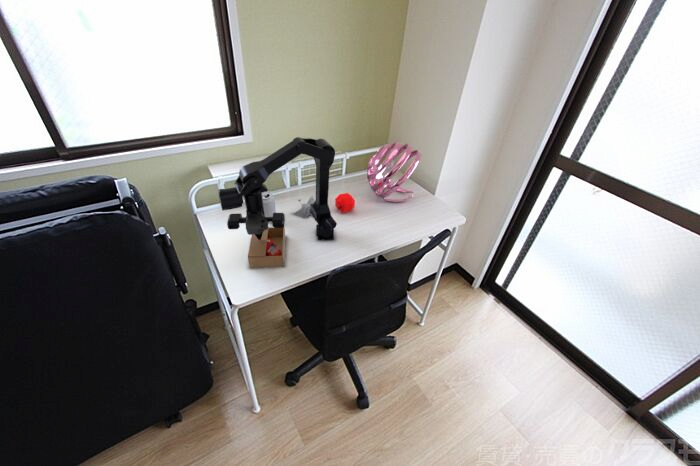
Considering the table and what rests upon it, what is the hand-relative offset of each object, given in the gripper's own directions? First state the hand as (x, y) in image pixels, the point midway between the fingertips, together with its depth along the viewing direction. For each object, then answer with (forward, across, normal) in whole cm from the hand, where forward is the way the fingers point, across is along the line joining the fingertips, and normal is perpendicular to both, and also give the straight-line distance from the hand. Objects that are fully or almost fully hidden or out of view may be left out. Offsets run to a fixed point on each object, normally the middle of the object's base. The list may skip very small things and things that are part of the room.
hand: (259, 239), depth 111 cm
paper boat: (+6, +17, +26) cm, 31 cm away
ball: (+6, +35, +26) cm, 44 cm away
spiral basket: (+6, +59, +39) cm, 71 cm away
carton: (+6, +3, 0) cm, 7 cm away
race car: (+6, +3, 0) cm, 6 cm away
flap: (+1, 0, 0) cm, 1 cm away
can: (+6, +1, +22) cm, 22 cm away
